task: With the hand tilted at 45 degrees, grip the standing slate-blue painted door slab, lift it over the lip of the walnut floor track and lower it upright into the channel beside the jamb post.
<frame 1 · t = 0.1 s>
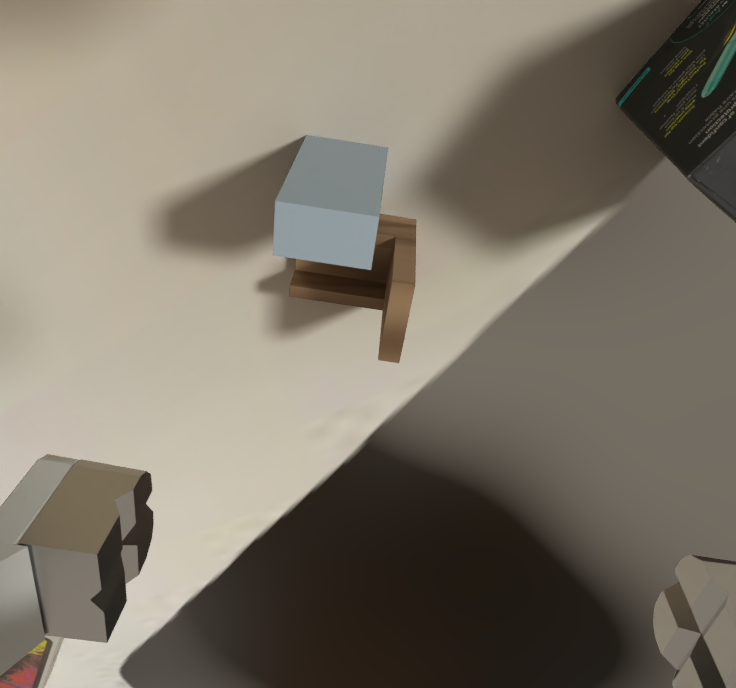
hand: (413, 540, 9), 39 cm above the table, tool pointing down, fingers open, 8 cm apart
door slab: (344, 164, 46), on the table
floor track: (354, 248, 50), on the table
tampon box: (721, 72, 41), on the table
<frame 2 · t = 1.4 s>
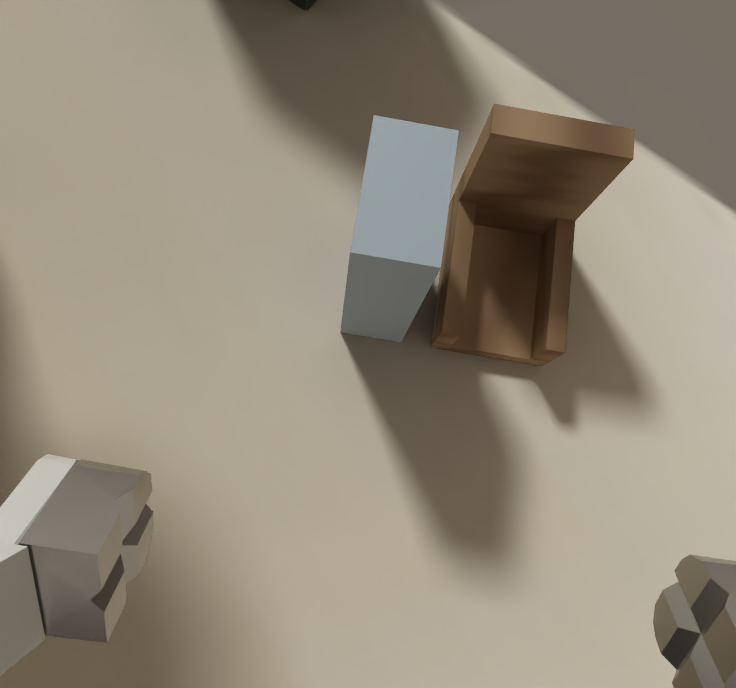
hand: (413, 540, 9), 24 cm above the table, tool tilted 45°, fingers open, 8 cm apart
door slab: (378, 288, 36), on the table
floor track: (494, 283, 36), on the table
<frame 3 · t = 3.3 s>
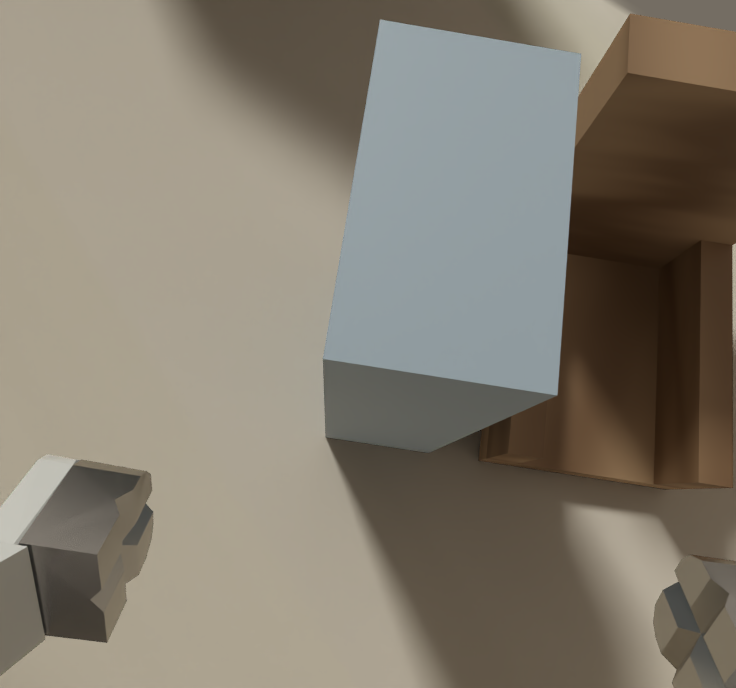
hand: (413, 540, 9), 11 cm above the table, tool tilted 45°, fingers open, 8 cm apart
door slab: (389, 358, 21), on the table
floor track: (581, 347, 22), on the table
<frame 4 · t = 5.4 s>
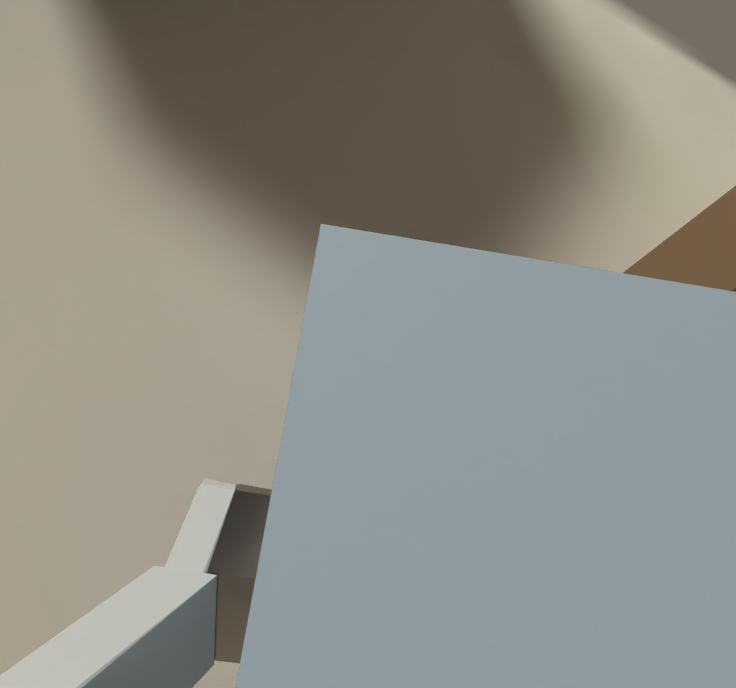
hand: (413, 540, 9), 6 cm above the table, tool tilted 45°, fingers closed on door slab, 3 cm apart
door slab: (376, 550, 15), on the table, touching gripper
floor track: (640, 529, 16), on the table
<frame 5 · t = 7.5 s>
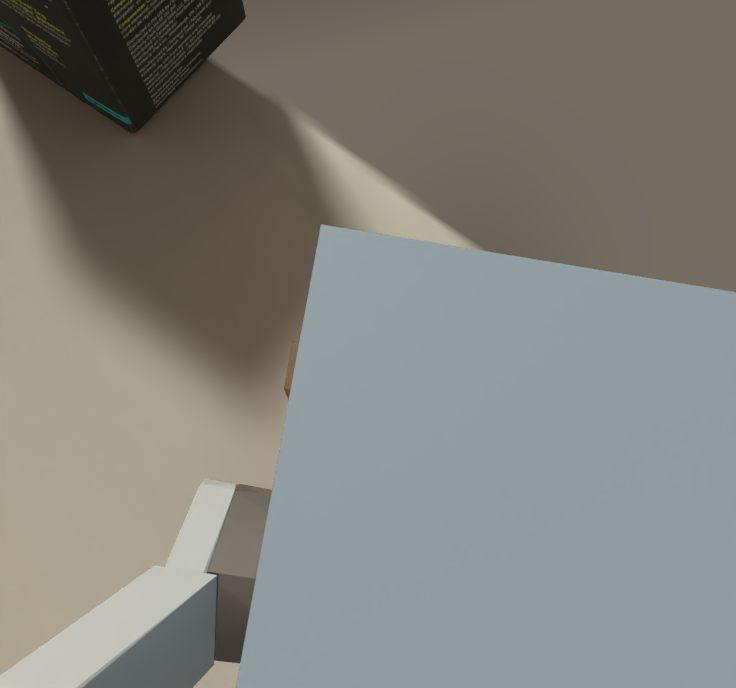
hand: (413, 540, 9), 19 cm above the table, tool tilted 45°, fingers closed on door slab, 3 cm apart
door slab: (376, 550, 15), point 12 cm above the table, touching gripper
floor track: (359, 503, 28), on the table
tampon box: (115, 27, 33), on the table
when the fingers open (9 cm above the table, at t = 9.9 s): door slab drops 1 cm, resting on floor track.
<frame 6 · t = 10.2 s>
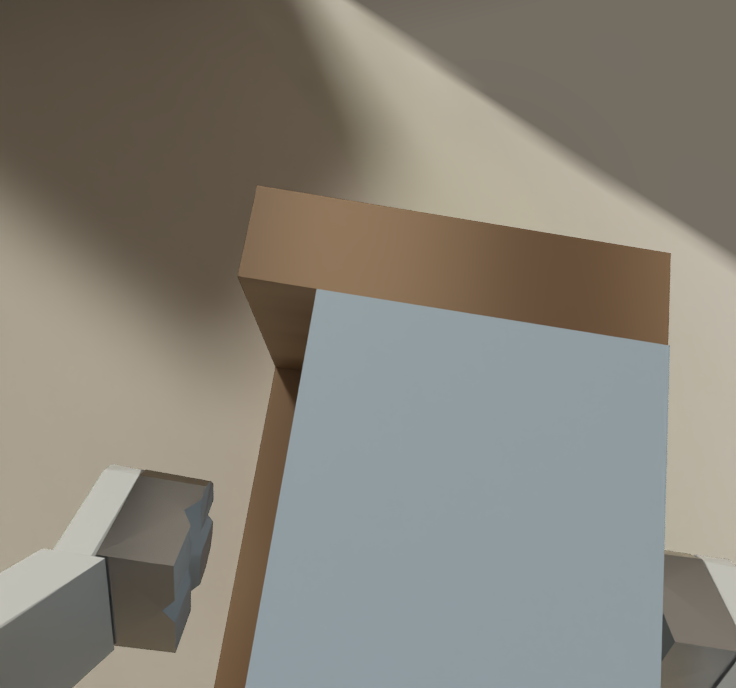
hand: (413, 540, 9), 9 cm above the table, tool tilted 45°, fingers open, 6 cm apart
door slab: (371, 545, 17), point 1 cm above the table, touching floor track
floor track: (376, 507, 18), on the table
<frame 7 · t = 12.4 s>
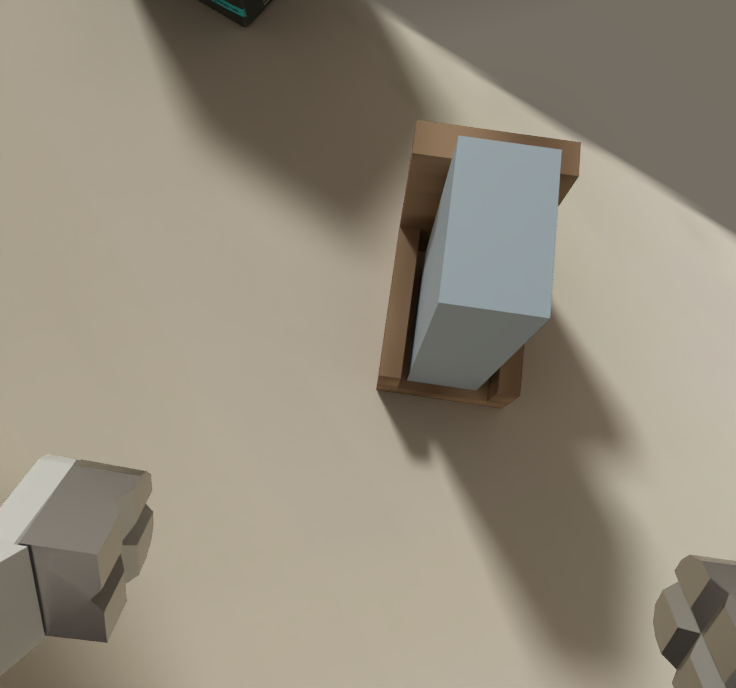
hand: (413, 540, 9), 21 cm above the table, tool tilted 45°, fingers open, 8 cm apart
door slab: (447, 328, 32), point 1 cm above the table, touching floor track
floor track: (448, 315, 33), on the table
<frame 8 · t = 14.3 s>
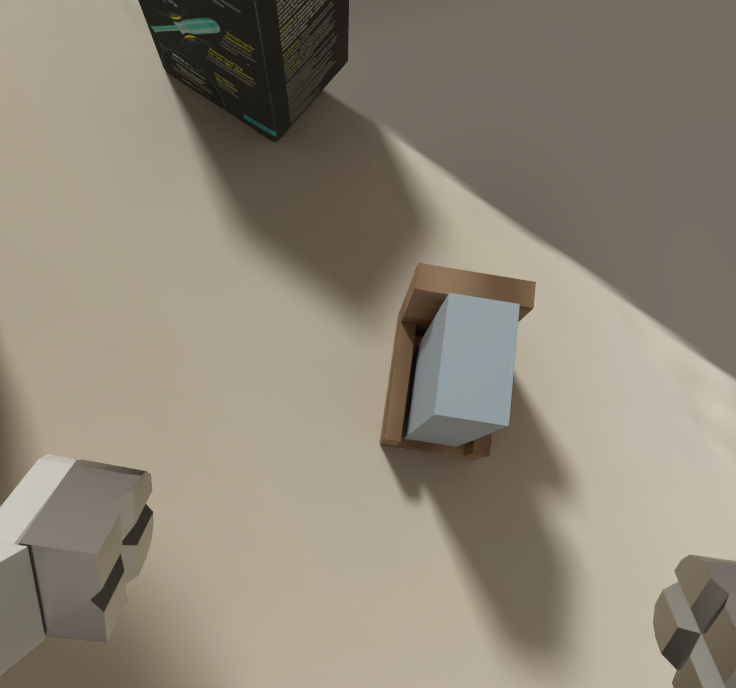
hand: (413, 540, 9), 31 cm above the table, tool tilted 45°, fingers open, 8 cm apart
door slab: (435, 397, 41), point 1 cm above the table, touching floor track
floor track: (436, 385, 42), on the table
tampon box: (257, 68, 48), on the table
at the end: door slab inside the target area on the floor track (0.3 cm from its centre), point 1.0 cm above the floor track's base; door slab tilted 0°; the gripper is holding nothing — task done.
